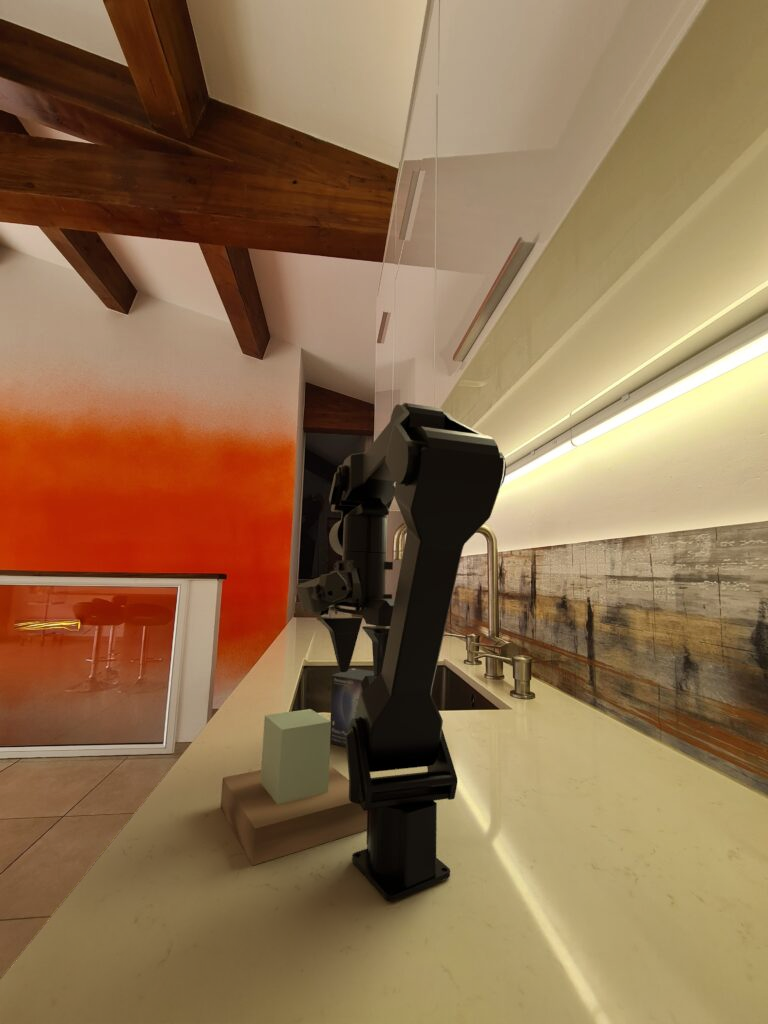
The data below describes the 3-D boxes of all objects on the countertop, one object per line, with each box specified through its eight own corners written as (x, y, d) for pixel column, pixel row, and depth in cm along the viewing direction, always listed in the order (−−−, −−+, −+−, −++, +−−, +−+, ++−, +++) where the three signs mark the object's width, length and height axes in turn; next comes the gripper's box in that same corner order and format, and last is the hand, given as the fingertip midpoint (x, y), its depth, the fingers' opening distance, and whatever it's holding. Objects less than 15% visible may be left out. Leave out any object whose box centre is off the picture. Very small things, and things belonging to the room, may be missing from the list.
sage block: (328, 792, 48) (330, 721, 49) (277, 804, 45) (281, 729, 46) (307, 772, 52) (310, 708, 53) (260, 782, 49) (264, 715, 50)
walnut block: (369, 829, 46) (370, 797, 47) (252, 865, 40) (254, 828, 40) (320, 783, 56) (321, 757, 57) (220, 806, 50) (222, 777, 50)
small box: (326, 744, 70) (329, 673, 71) (348, 732, 75) (351, 667, 77) (387, 758, 65) (389, 682, 66) (406, 744, 71) (407, 674, 72)
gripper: (280, 552, 62) (272, 670, 60) (342, 546, 47) (336, 705, 44) (351, 556, 68) (347, 664, 66) (427, 552, 53) (426, 692, 50)
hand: (360, 678), depth 56 cm, fingers open, 9 cm apart
